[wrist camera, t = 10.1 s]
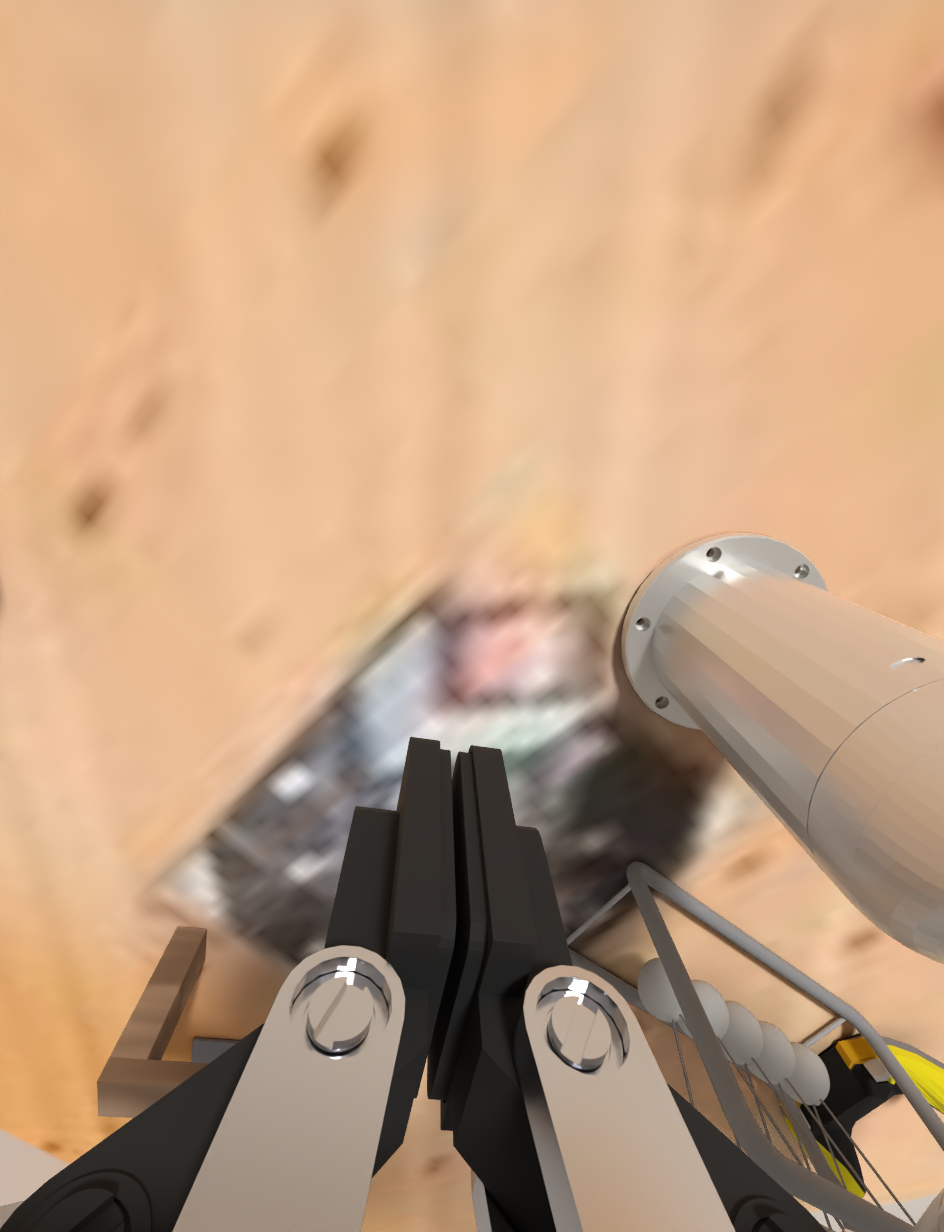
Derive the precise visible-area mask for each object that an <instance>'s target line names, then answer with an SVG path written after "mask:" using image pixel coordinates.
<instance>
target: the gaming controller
mask: <svg viewBox="0 0 944 1232" xmlns="http://www.w3.org/2000/svg"><path fill="white" fill-rule="evenodd" d="M881 1038H882V1039H883V1041H884V1042H885V1043H886V1045H887V1046H888V1048H889V1049H890V1050H891V1052H892V1053H893V1054H894V1056H895V1057H896V1059H897V1060H898V1061H899V1063H900V1064H901V1066H902V1067H903V1068H904V1070H905V1071H906V1072H907V1074H908V1075H909V1077H910V1078H911V1079H912V1081H913V1082H914V1083H915V1085H916V1086H917V1088H918V1089H919V1090H920V1092H921V1093H922V1095H923V1096H924V1097H925V1099H926V1100H927V1101H928V1103H929V1104H930V1106H932V1107H933V1108H935V1109H936V1110H938V1111H940V1112H941V1113H943V1114H944V1064H943V1063H941V1062H939V1061H938V1060H936V1059H934V1058H932V1057H931V1056H929V1055H927V1054H925V1053H923V1052H922V1051H920V1050H918V1049H916V1048H915V1047H913V1046H911V1045H908V1044H905V1043H902V1042H899V1041H896V1040H893V1039H890V1038H886V1037H881ZM820 1059H821V1060H822V1062H823V1063H824V1065H825V1067H826V1069H827V1072H828V1075H829V1080H830V1088H829V1093H828V1095H827V1097H826V1098H825V1100H823V1101H824V1103H825V1104H826V1105H827V1107H828V1108H829V1109H830V1110H831V1112H832V1113H833V1114H834V1116H835V1117H836V1118H837V1120H838V1121H839V1122H840V1124H841V1125H842V1126H843V1128H844V1129H845V1130H846V1132H847V1133H848V1134H849V1136H850V1137H851V1133H852V1128H853V1126H854V1124H855V1122H856V1121H857V1120H859V1119H860V1118H862V1117H863V1116H865V1115H866V1114H868V1113H869V1112H871V1111H872V1110H874V1109H875V1108H877V1107H878V1106H880V1105H881V1104H883V1103H884V1102H886V1101H887V1100H888V1099H889V1098H891V1097H892V1096H894V1095H897V1094H904V1093H903V1092H902V1091H901V1089H900V1088H899V1086H898V1085H897V1083H896V1082H895V1081H894V1079H893V1078H892V1076H891V1075H890V1073H889V1072H888V1071H887V1069H886V1068H885V1066H884V1065H883V1063H882V1062H881V1060H880V1059H879V1058H878V1056H877V1055H876V1053H875V1052H874V1050H873V1049H872V1048H871V1046H870V1045H869V1043H868V1042H867V1041H866V1040H865V1038H864V1037H863V1036H858V1037H853V1038H849V1039H847V1040H843V1041H838V1043H837V1045H836V1046H834V1047H832V1048H831V1049H829V1050H828V1051H827V1052H825V1053H824V1054H823V1055H821V1056H820ZM795 1102H796V1104H797V1105H798V1107H799V1109H800V1111H801V1113H802V1115H803V1117H804V1119H805V1121H806V1122H807V1124H808V1126H809V1128H810V1130H811V1132H812V1134H813V1136H814V1138H815V1139H816V1141H817V1143H818V1145H819V1147H820V1149H821V1151H822V1153H823V1155H824V1157H825V1158H826V1160H827V1162H828V1164H829V1166H830V1168H831V1169H832V1171H833V1172H834V1174H835V1175H836V1177H837V1178H838V1179H839V1181H840V1182H841V1179H840V1176H839V1174H838V1171H837V1168H836V1166H835V1163H834V1160H833V1158H832V1155H831V1153H830V1150H829V1147H828V1145H827V1142H826V1139H825V1137H824V1134H823V1132H822V1129H821V1127H820V1126H819V1125H818V1123H817V1122H816V1121H815V1119H814V1118H813V1116H812V1115H811V1114H810V1112H809V1111H808V1110H807V1108H806V1107H805V1105H804V1104H803V1103H800V1102H798V1101H796V1100H795ZM780 1103H781V1102H780ZM807 1106H808V1107H809V1109H810V1110H811V1111H812V1113H813V1114H814V1115H815V1117H816V1118H817V1116H816V1113H815V1111H814V1108H813V1105H807ZM815 1107H816V1110H817V1112H818V1115H819V1118H820V1120H821V1123H822V1125H823V1128H824V1129H825V1130H826V1132H827V1133H828V1135H829V1136H830V1137H831V1139H832V1140H833V1141H834V1143H835V1144H836V1145H837V1147H838V1148H839V1150H840V1151H841V1152H842V1154H843V1155H844V1156H845V1158H846V1159H847V1161H848V1162H849V1163H850V1165H851V1166H852V1167H853V1169H854V1170H855V1171H856V1173H857V1174H858V1176H859V1177H860V1178H861V1180H862V1181H863V1182H864V1180H863V1176H862V1172H861V1167H860V1164H859V1161H858V1157H857V1154H856V1151H855V1148H854V1145H853V1143H852V1142H851V1141H850V1139H849V1138H848V1137H847V1135H846V1134H845V1133H844V1131H843V1130H842V1129H841V1127H840V1126H839V1125H838V1123H837V1122H836V1121H835V1119H834V1118H833V1117H832V1115H831V1114H830V1113H829V1111H828V1110H827V1109H826V1107H825V1106H824V1105H823V1103H822V1102H821V1104H820V1105H818V1106H817V1105H815ZM780 1109H781V1112H782V1114H783V1116H784V1119H785V1121H786V1123H787V1125H788V1127H789V1129H790V1131H791V1132H792V1134H793V1136H794V1137H795V1139H796V1140H797V1137H796V1134H795V1131H794V1129H793V1126H792V1123H791V1121H790V1119H789V1117H788V1115H787V1113H786V1111H785V1109H784V1107H783V1105H782V1103H781V1105H780ZM817 1119H818V1118H817ZM827 1138H828V1137H827ZM800 1141H801V1140H800ZM828 1141H829V1144H830V1146H831V1149H832V1151H833V1154H834V1157H835V1159H836V1162H837V1164H838V1167H839V1170H840V1172H841V1175H842V1178H843V1180H844V1183H845V1185H846V1188H847V1191H849V1192H851V1193H853V1194H855V1195H857V1196H858V1197H860V1198H863V1197H864V1195H865V1193H866V1189H865V1188H864V1187H863V1185H862V1184H861V1183H860V1181H859V1180H858V1178H857V1177H856V1176H855V1174H854V1173H853V1172H852V1170H851V1169H850V1167H849V1166H848V1165H847V1163H846V1162H845V1161H844V1159H843V1158H842V1156H841V1155H840V1154H839V1152H838V1151H837V1150H836V1148H835V1147H834V1145H833V1144H832V1143H831V1141H830V1140H829V1139H828ZM797 1142H798V1140H797ZM801 1144H802V1142H801ZM802 1147H803V1150H804V1152H805V1154H806V1155H807V1157H808V1158H809V1156H808V1154H807V1152H806V1150H805V1148H804V1146H803V1144H802ZM809 1160H810V1158H809ZM810 1161H811V1160H810ZM811 1163H812V1162H811ZM841 1184H842V1182H841ZM842 1185H843V1184H842Z"/></svg>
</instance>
